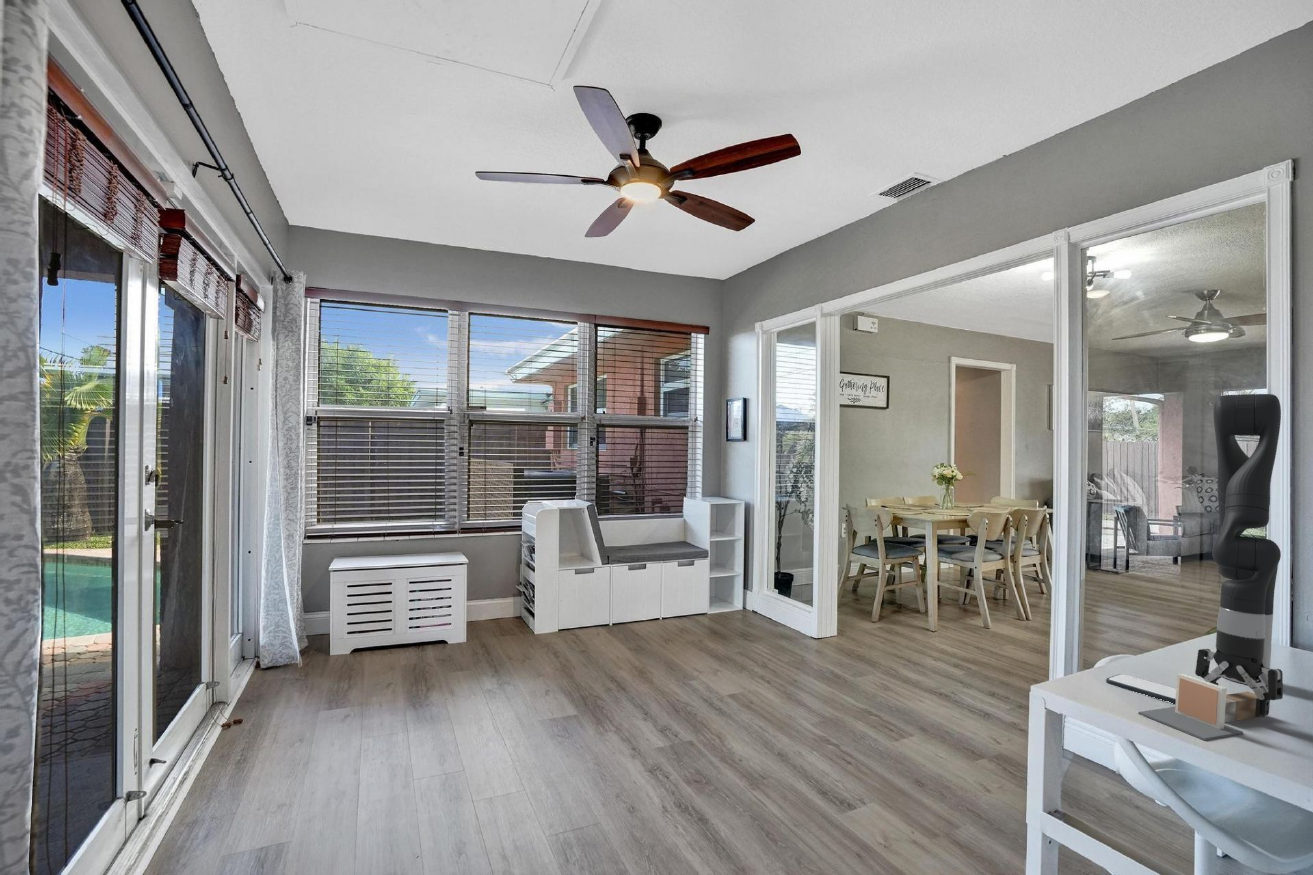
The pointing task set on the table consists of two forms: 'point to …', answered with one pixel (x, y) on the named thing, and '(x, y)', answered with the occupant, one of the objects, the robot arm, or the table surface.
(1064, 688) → the table surface
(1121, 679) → the phone case
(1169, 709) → the mat
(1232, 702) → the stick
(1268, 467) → the robot arm
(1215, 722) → the tile
